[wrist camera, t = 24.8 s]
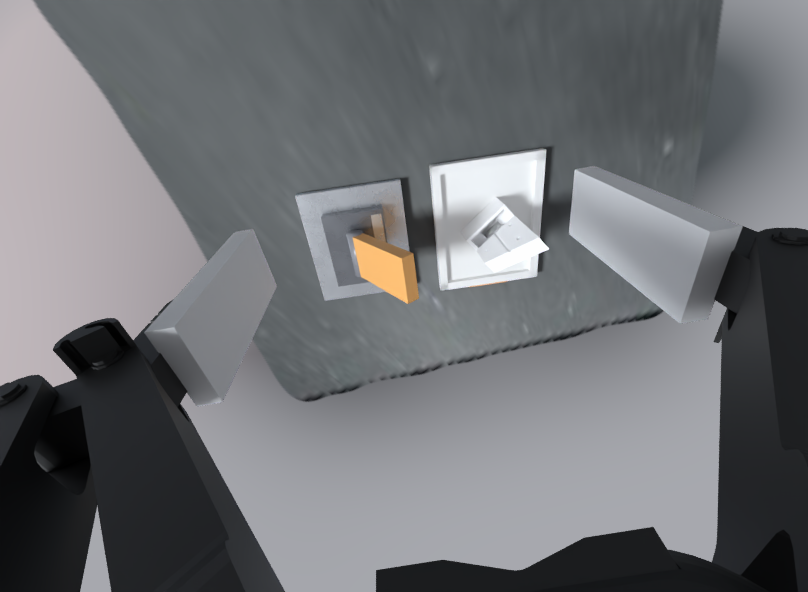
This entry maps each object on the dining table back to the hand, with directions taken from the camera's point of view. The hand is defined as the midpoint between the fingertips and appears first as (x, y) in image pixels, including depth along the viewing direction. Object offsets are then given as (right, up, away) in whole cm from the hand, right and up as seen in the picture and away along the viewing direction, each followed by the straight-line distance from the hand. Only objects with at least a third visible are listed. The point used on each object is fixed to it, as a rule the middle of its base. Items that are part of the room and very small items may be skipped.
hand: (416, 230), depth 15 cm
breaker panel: (-6, +4, +30) cm, 30 cm away
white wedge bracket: (+10, +6, +29) cm, 31 cm away
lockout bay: (+10, +6, +30) cm, 32 cm away
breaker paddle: (-6, +2, +26) cm, 27 cm away
